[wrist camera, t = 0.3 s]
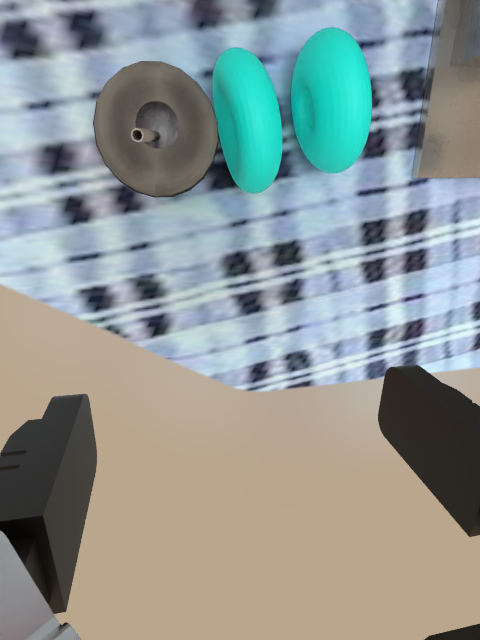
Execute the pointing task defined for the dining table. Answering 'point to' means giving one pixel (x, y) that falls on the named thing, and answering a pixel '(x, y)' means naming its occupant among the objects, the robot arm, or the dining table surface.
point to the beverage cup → (156, 129)
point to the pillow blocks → (451, 96)
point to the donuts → (293, 109)
